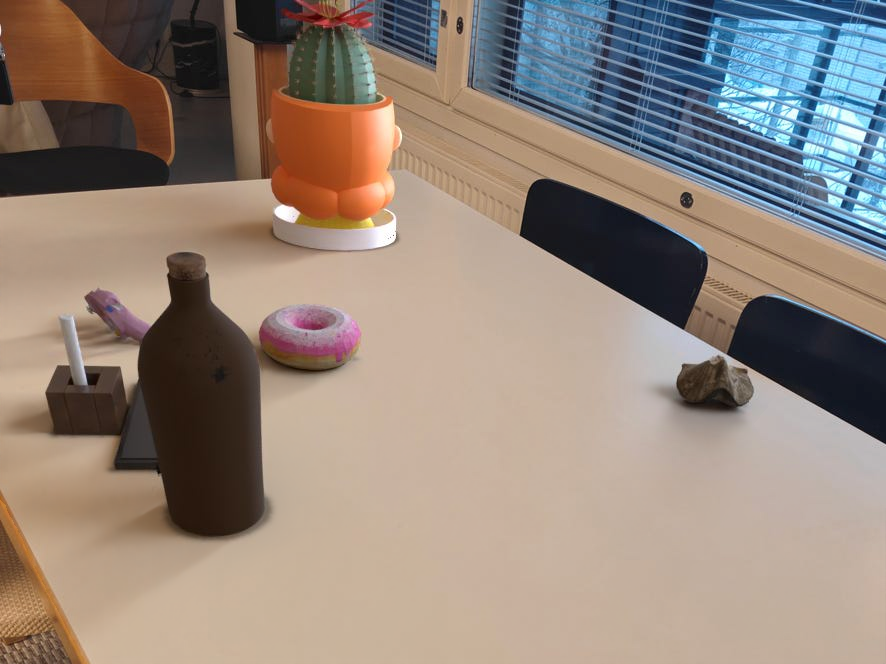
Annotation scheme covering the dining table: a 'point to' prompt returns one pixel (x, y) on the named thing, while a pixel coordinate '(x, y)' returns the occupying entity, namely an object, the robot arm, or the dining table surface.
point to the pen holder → (87, 401)
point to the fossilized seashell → (715, 382)
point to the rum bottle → (203, 407)
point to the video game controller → (116, 315)
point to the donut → (310, 336)
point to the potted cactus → (332, 138)
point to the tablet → (136, 438)
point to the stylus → (73, 349)
